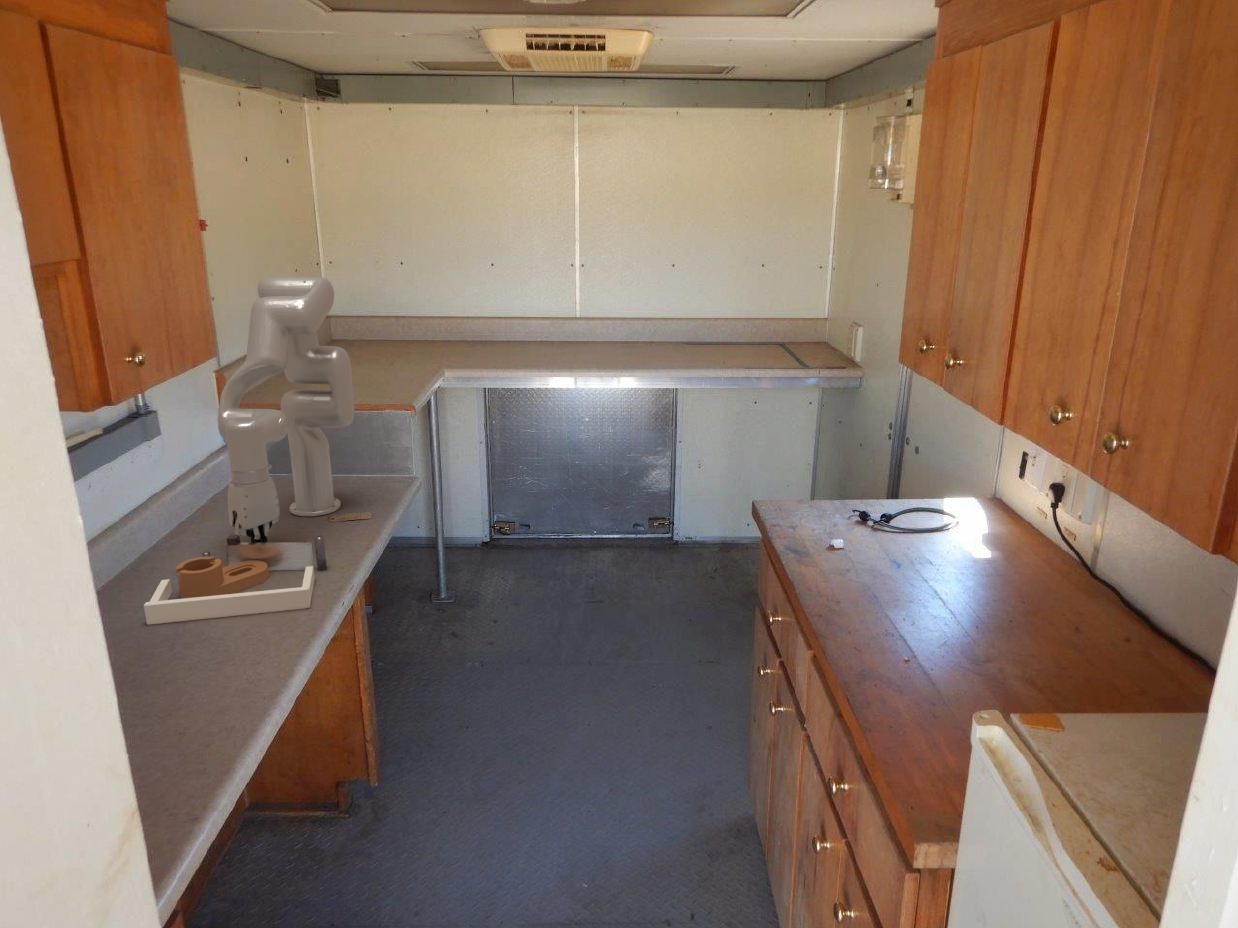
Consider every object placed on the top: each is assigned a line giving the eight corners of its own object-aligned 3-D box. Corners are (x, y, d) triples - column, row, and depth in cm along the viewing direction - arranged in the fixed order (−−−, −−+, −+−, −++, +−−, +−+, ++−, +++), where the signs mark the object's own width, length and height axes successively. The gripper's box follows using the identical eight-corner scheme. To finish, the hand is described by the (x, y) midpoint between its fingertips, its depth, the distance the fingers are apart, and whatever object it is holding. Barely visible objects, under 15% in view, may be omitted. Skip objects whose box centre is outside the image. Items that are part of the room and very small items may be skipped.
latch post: (206, 577, 187) (202, 551, 185) (214, 576, 187) (210, 550, 186) (204, 580, 186) (200, 554, 184) (212, 579, 186) (209, 553, 184)
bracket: (193, 608, 173) (188, 576, 171) (173, 597, 178) (168, 565, 176) (276, 579, 187) (272, 549, 185) (255, 568, 192) (251, 539, 190)
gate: (314, 566, 192) (311, 534, 190) (311, 570, 191) (308, 538, 188) (232, 567, 192) (227, 534, 190) (228, 570, 190) (224, 538, 188)
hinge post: (317, 567, 192) (314, 535, 190) (327, 566, 193) (324, 535, 190) (317, 571, 190) (313, 539, 188) (326, 570, 191) (323, 538, 189)
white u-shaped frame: (163, 593, 180) (160, 575, 178) (314, 578, 187) (312, 561, 185) (147, 624, 167) (143, 605, 165) (309, 607, 174) (307, 589, 173)
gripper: (267, 462, 196) (276, 538, 201) (208, 481, 183) (220, 561, 189) (290, 468, 192) (299, 545, 198) (232, 488, 180) (243, 569, 186)
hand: (260, 552), depth 194 cm, fingers closed
